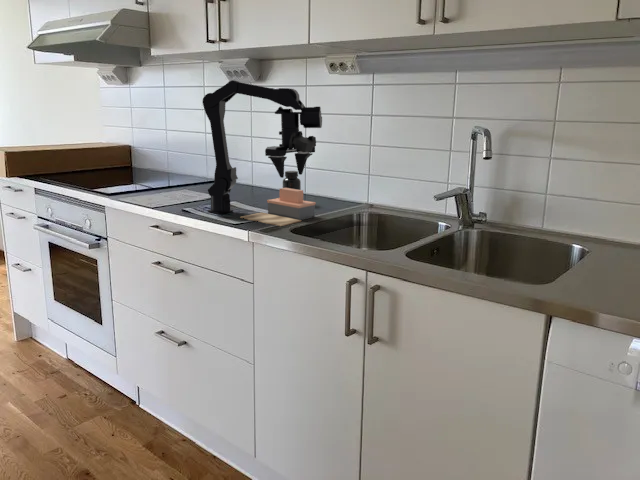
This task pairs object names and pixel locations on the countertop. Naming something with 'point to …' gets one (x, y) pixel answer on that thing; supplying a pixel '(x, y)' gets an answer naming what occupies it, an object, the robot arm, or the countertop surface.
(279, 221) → the light wood flat board
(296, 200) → the lid
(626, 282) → the countertop surface
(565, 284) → the countertop surface
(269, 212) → the storage box
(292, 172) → the supplement bottle
